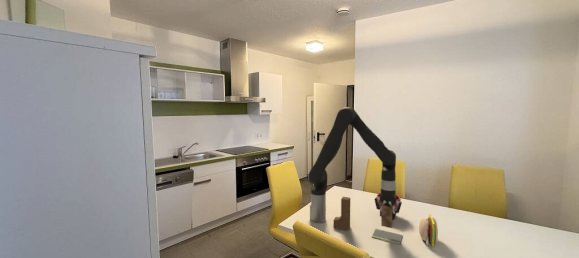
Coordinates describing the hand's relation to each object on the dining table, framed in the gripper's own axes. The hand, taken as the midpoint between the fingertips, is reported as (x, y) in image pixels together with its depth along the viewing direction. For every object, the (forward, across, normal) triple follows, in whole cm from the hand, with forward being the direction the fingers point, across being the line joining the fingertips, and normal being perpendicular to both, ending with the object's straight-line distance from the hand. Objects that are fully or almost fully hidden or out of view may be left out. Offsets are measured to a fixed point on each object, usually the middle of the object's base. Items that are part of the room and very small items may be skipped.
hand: (387, 218), depth 130 cm
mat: (+10, 0, 0) cm, 10 cm away
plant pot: (+11, -4, +28) cm, 30 cm away
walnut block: (+3, 0, 0) cm, 3 cm away
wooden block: (+11, -25, -2) cm, 27 cm away
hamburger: (+11, +19, +7) cm, 23 cm away
